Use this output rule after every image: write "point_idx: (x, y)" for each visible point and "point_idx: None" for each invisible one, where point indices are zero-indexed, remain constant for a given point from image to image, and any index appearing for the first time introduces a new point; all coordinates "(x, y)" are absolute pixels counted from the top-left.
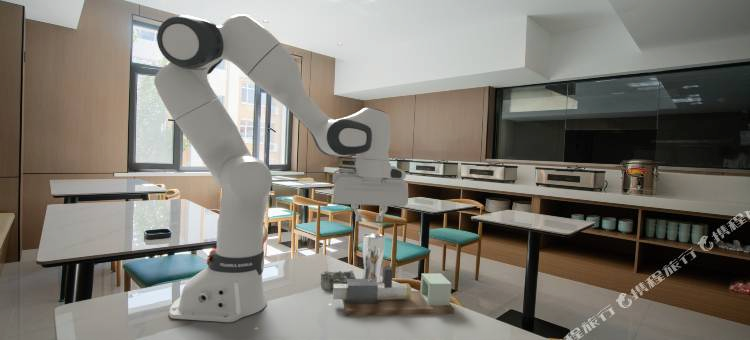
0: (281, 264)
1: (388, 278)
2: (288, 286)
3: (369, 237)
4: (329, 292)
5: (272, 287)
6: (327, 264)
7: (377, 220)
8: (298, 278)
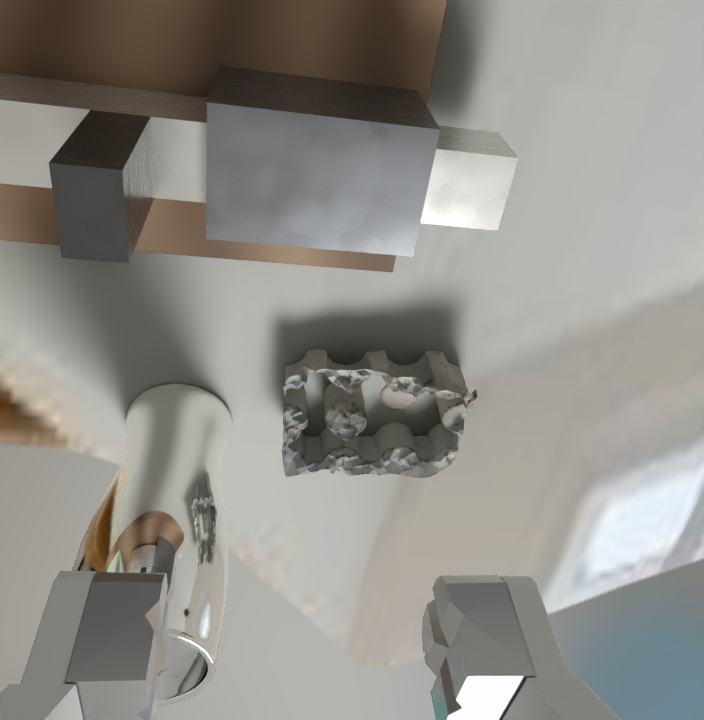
0: (557, 589)
1: (104, 138)
2: (609, 394)
3: (182, 636)
4: (438, 315)
5: (682, 389)
6: (360, 589)
7: (156, 588)
8: (535, 467)
